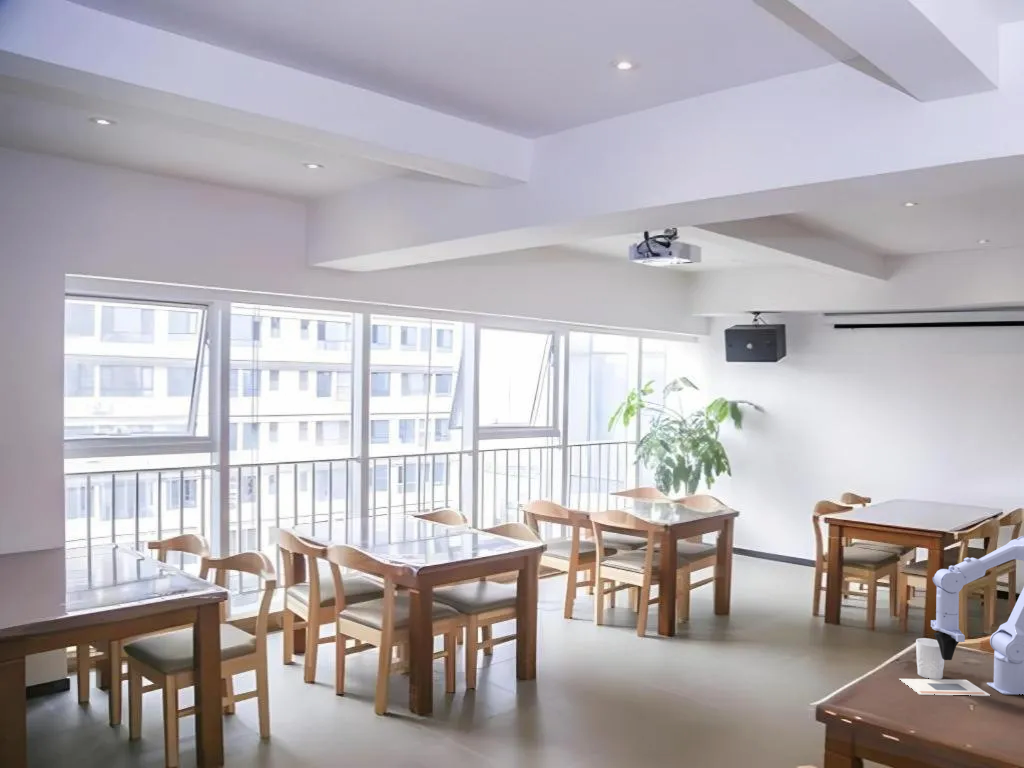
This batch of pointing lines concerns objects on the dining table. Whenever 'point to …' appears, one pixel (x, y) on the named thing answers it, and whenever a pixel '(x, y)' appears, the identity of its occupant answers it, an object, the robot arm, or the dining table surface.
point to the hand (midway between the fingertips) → (946, 659)
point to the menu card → (944, 687)
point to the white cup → (929, 658)
